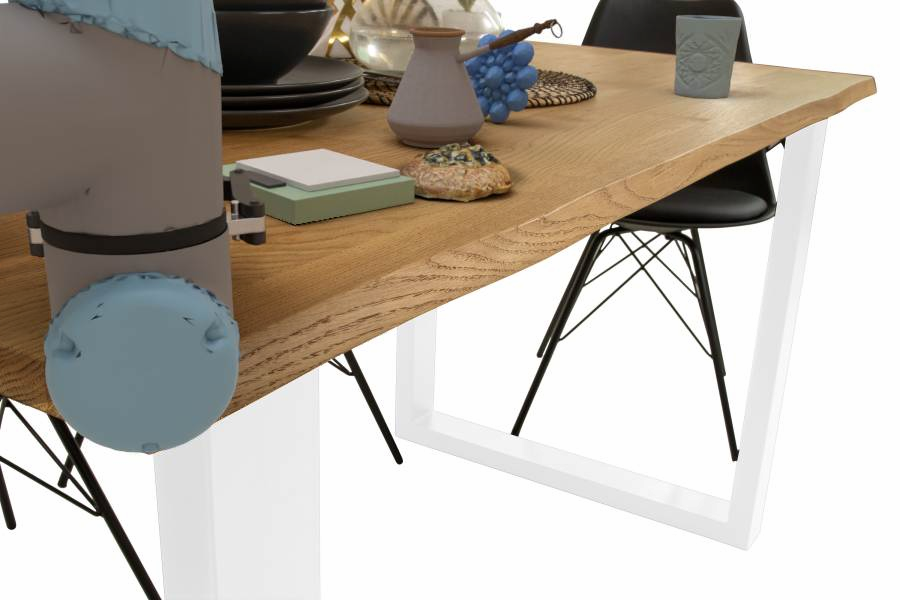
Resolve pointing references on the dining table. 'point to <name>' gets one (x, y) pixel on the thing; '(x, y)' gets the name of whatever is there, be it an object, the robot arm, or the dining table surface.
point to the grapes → (502, 77)
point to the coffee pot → (443, 88)
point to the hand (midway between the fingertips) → (152, 167)
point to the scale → (322, 185)
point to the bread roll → (458, 173)
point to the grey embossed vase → (705, 55)
